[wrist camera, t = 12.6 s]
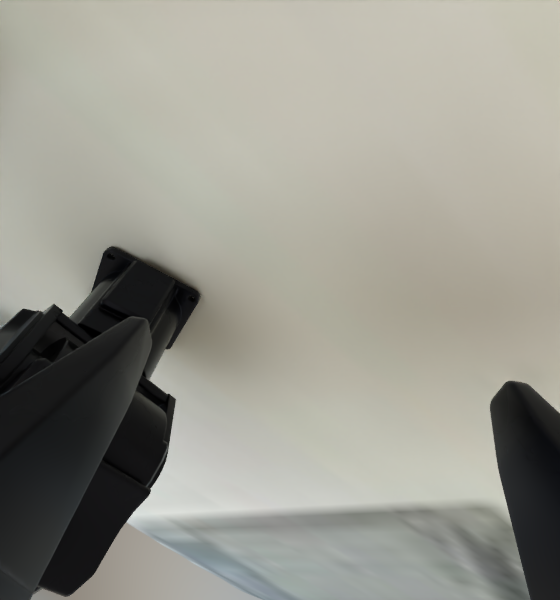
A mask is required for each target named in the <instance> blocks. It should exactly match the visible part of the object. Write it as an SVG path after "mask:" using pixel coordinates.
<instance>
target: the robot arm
mask: <svg viewBox="0 0 560 600" xmlns="http://www.w3.org/2000/svg"><path fill="white" fill-rule="evenodd" d="M111 254H113V255H114V256H115V257H113V256H112V255H111ZM191 296H193V297H194V298H192V297H191ZM200 297H201V296H200V294H199V292H198V291H196V290H195V289H193V288H191V287H189V286H187V285H185V284H183V283H181V282H179V281H178V280H176V279H174V278H172V277H170V276H168V275H166V274H164V273H162V272H161V271H159V270H157V269H155V268H153V267H151V266H149V265H147V264H145V263H144V262H142V261H140V260H138V259H136V258H134V257H132V256H130V255H128V254H127V253H125V252H123V251H121V250H119V249H117V248H115V247H109V248H107V249H106V250H105V252H104V253H103V256H102V259H101V263H100V266H99V269H98V272H97V276H96V279H95V282H94V285H93V288H92V292H91V294H90V295H89V296H88V297H87V298H86V299H85V301H84V302H83V303H82V304H81V305H80V306H79V307H78V309H77V310H76V311H75V312H74V313H73V314H72V315H71V316H70V318H69V317H67V316H66V315H65V314H63V313H62V312H63V310H61V309H60V308H59V307H57V306H56V305H55V304H53V305H52V306H51V307H49V308H48V309H46V310H45V311H44V312H41V311H40V312H39V311H32V310H27V309H22V310H21V311H19V312H18V313H17V314H16V315H15V316H14V317H13V318H12V319H11V320H10V321H8V322H7V323H6V324H5V325H4V326H3V327H2V328H1V329H0V600H30V599H31V597H32V595H33V594H35V593H36V592H38V591H40V590H41V589H45V590H48V591H51V592H54V593H56V594H59V595H62V596H64V597H67V596H70V595H71V594H73V593H74V592H75V591H76V590H77V589H78V588H79V587H81V586H82V585H83V584H84V583H85V582H86V581H87V580H88V579H89V578H91V577H92V576H93V575H94V573H95V572H96V570H97V568H98V567H99V565H100V563H101V561H102V560H103V558H104V556H105V554H106V553H107V551H108V549H109V547H110V546H111V544H112V542H113V541H114V539H115V537H116V536H117V534H118V533H119V531H120V529H121V528H122V527H123V525H124V524H125V523H126V521H127V520H128V519H129V517H130V516H131V515H132V513H133V512H134V511H135V510H136V509H137V508H138V507H139V506H140V504H141V503H142V502H143V501H144V500H145V499H146V498H147V497H148V496H149V494H150V492H151V489H150V488H151V487H152V486H153V484H154V483H155V481H156V480H157V478H158V477H159V475H160V473H161V471H162V469H163V467H164V464H165V462H166V458H167V454H168V448H169V441H170V434H171V428H172V421H173V414H174V408H175V401H176V399H175V398H174V397H172V396H171V395H170V394H166V393H165V392H163V391H162V390H161V389H160V388H158V387H157V386H156V385H155V384H153V383H152V382H151V381H149V379H150V377H151V375H152V373H153V371H154V369H155V368H156V366H157V364H158V362H159V360H160V358H161V356H162V354H163V352H164V350H165V349H170V348H171V347H172V345H173V343H174V342H175V340H176V338H177V337H178V335H179V333H180V332H181V330H182V328H183V327H184V325H185V323H186V322H187V320H188V318H189V317H190V315H191V313H192V312H193V310H194V308H195V307H196V305H197V303H198V301H199V299H200ZM490 412H491V420H492V427H493V435H494V442H495V450H496V457H497V463H498V469H499V474H500V478H501V482H502V486H503V490H504V494H505V498H506V502H507V506H508V510H509V514H510V518H511V522H512V526H513V530H514V535H515V539H516V543H517V547H518V551H519V555H520V559H521V563H522V567H523V571H524V575H525V579H526V583H527V587H528V591H529V595H530V599H531V600H560V413H559V412H558V411H556V410H555V409H554V408H553V407H552V406H551V405H550V404H549V403H548V402H547V401H546V400H545V399H544V398H542V397H541V396H540V395H539V394H538V393H537V392H536V391H535V390H534V389H533V388H532V387H531V386H529V385H528V384H526V383H522V382H516V381H508V382H506V383H505V384H504V385H503V386H502V388H501V389H500V390H499V391H498V393H497V394H496V395H495V396H494V398H493V399H492V401H491V404H490Z"/></svg>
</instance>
